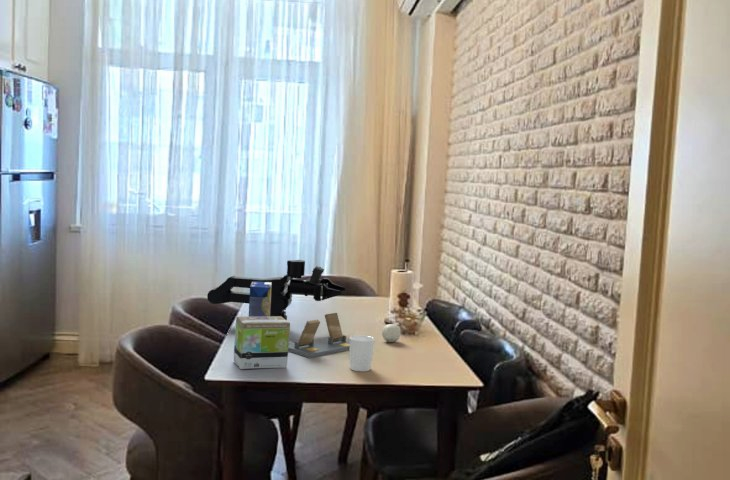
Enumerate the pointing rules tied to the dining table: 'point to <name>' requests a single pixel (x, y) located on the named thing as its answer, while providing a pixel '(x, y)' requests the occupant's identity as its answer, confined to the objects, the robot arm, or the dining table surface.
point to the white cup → (361, 352)
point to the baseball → (391, 333)
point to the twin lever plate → (319, 347)
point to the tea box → (261, 342)
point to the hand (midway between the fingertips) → (343, 290)
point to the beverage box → (260, 299)
